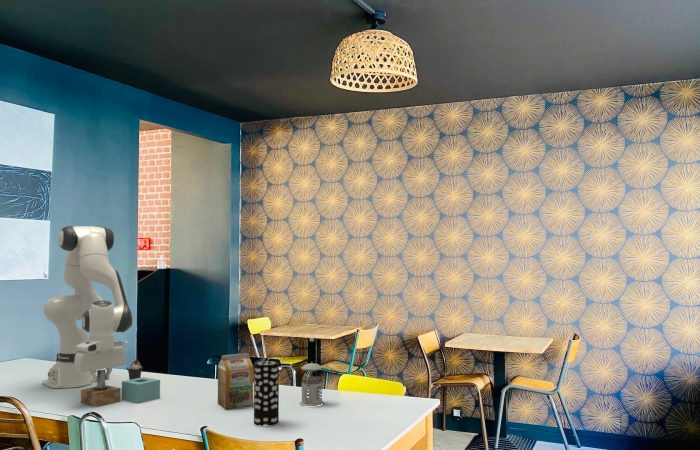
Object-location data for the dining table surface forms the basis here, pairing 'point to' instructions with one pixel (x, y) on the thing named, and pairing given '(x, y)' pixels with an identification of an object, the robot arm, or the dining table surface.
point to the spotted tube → (266, 393)
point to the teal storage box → (140, 390)
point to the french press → (311, 386)
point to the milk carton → (235, 381)
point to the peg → (101, 380)
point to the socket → (100, 396)
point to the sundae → (134, 370)
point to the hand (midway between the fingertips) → (101, 380)
